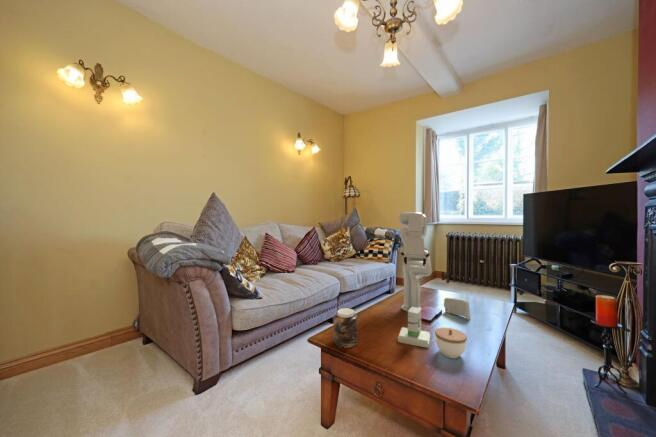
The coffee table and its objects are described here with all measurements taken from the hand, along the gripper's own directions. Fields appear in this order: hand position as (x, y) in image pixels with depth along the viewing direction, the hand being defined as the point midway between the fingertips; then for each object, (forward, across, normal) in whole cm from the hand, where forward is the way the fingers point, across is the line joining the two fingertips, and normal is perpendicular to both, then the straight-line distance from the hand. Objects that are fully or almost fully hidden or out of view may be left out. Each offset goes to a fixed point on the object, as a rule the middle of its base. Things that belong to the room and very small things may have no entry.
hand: (414, 264), depth 147 cm
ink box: (+31, +2, -20) cm, 36 cm away
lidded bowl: (+34, +18, -27) cm, 47 cm away
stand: (+33, +2, -20) cm, 39 cm away
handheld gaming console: (+34, +22, +23) cm, 46 cm away
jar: (+34, -28, -36) cm, 57 cm away
